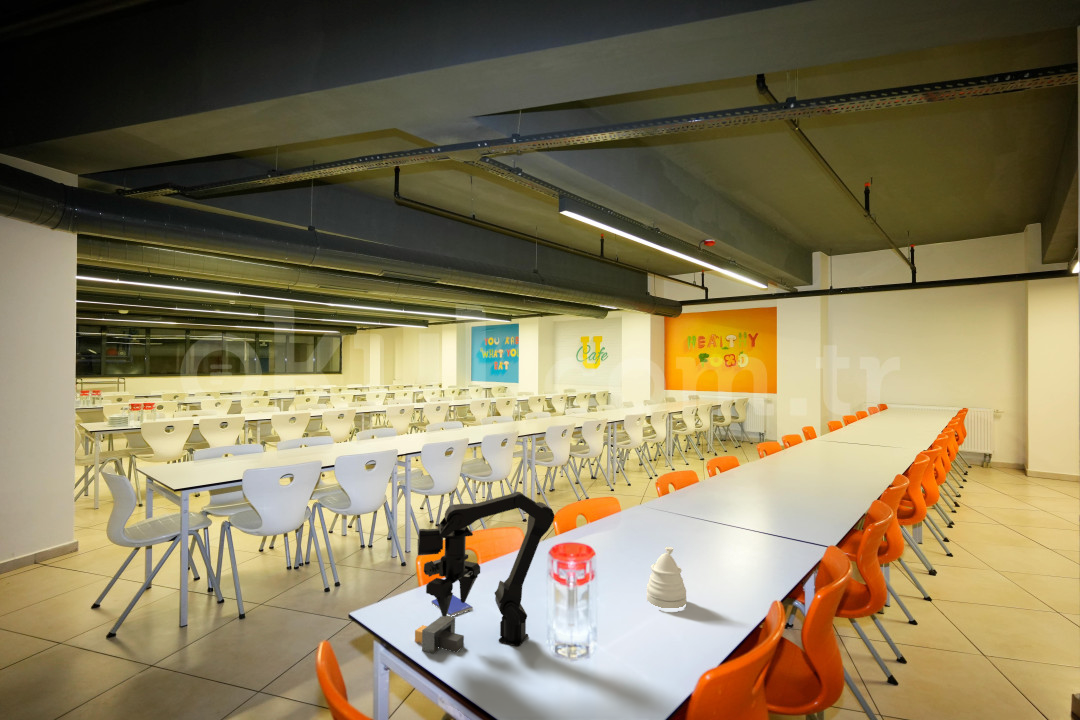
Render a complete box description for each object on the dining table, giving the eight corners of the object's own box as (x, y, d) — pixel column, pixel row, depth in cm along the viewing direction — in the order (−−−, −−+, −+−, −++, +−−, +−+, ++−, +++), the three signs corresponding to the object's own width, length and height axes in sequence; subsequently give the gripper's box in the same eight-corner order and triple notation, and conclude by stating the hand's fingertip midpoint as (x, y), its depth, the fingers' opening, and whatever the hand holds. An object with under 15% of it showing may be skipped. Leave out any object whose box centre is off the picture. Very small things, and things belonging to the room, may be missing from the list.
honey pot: (660, 592, 176) (659, 540, 177) (693, 604, 167) (693, 549, 167) (639, 603, 167) (639, 549, 168) (673, 616, 158) (673, 559, 158)
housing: (454, 636, 144) (455, 617, 144) (434, 653, 135) (434, 633, 135) (443, 633, 146) (443, 614, 146) (421, 650, 136) (422, 630, 137)
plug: (463, 646, 139) (463, 635, 139) (456, 652, 136) (456, 641, 136) (422, 635, 145) (422, 625, 145) (414, 641, 141) (415, 630, 142)
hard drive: (472, 606, 161) (452, 593, 171) (450, 613, 156) (431, 600, 165) (472, 611, 161) (452, 598, 171) (450, 618, 156) (431, 605, 165)
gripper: (449, 538, 151) (448, 591, 150) (410, 558, 134) (408, 617, 133) (481, 544, 147) (480, 598, 146) (444, 564, 129) (443, 626, 129)
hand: (453, 609), depth 139 cm, fingers open, 9 cm apart
